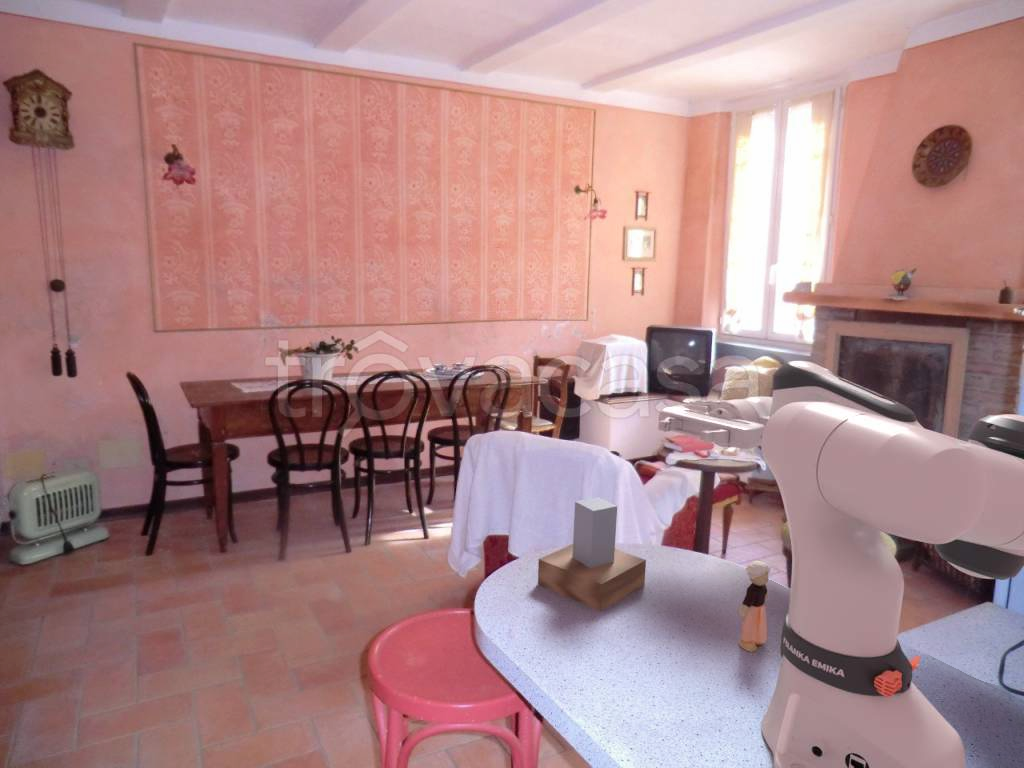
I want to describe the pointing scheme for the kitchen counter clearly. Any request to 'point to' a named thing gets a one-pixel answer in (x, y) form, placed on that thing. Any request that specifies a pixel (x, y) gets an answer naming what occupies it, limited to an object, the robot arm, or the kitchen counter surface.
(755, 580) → the grandmother figurine
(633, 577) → the walnut block
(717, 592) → the kitchen counter surface
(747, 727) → the kitchen counter surface
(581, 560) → the slate pillar block
